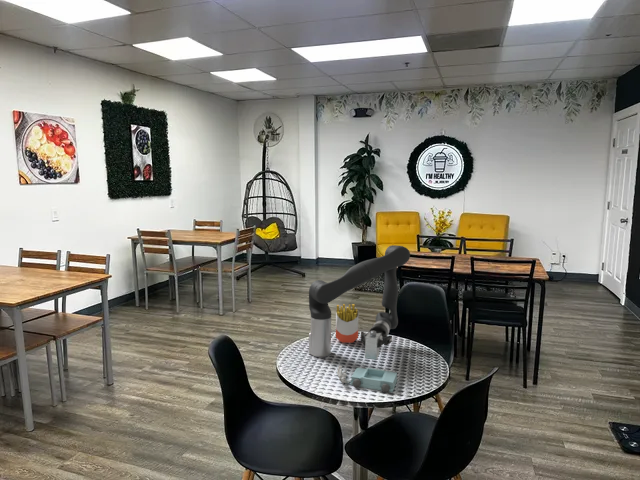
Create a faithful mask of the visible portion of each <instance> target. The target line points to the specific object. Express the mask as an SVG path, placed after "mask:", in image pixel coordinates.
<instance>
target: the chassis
mask: <svg viewBox="0 0 640 480" xmlns="http://www.w3.org/2000/svg"><path fill="white" fill-rule="evenodd" d="M350 378H351V379H350V380H351V382H350V386H353V387H354V388H356V389H359V388H365V389H370V390H376V391H382V392H383V393H385V394H386V393H393V392H394V389H395V387H396V384H397V382H398V372H394V371H392V370H390V371H389V370H388V371H387V370H383V369H378V368H372V367H365V366H362V367H356V369H355V370H354V372H353V373H352V375H351V377H350Z"/></svg>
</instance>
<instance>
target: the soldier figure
mask: <svg viewBox="0 0 640 480" xmlns="http://www.w3.org/2000/svg"><path fill="white" fill-rule="evenodd" d="M347 373H348V371H347V370H344V371H343V365H338V368H337V373H336V374H337V376H338V380H339V381H340V382H341V383H342V385H344V383H345V384H351V379H349V380H347V376H348V374H347Z"/></svg>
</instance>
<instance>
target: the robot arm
mask: <svg viewBox="0 0 640 480" xmlns="http://www.w3.org/2000/svg"><path fill="white" fill-rule="evenodd" d="M410 252H411V251H410V250H409V249H408V248H407V247H405V246H403V245H389V246H387V248H386V249H385V252H384V255H382V256H379V257H375V258H370V259H366V260H363V261H360V262H359V263H357V264H356V263H355V265H353V266H351V267H350V268H348V270H346V271H345V273H344V274H343V275H342V276H340V277H338V278H337V279H335V280H332V281H329V282H326V281H324V280H321V279H317V280H314V281H313V282H312V283H311V284H310V286H309V289H308V308H309V311H310V332H309V334H308V355H311V356H312V357H318V358H325V357H329V356H330V355H331V354H332V353H331V351H332V347H331V346H332V310H331V309H330V306H329V303H330V302H331V303H332V301H333V302H334V300H336V299H337V298H339V297H340V296H342V295H343V294H345V293H347V292H349V291H352V290H353V289H355V288H357V287H359V286H361V285H364V284H365V283H367V282H369V281H371V280H373V279H375V278H377V277H380V276H381V275H382V274H384V284H383V292H382V293H383V294H382V299H381V306H382V307H384V308H385V309H388V310H389V311H390V312H384V311H379V312H378V313H376V315H375V322H374V324H373V325H372V326H371V328H370V329H369V331H368V332H366V333H365V332H364V331H363V330H362V331H360V342H362V345H363V346H365V341H366V336H367V334H368V333H369V332H370V331H376V333H378V334H380V340H379V341H378V342H377V348H379V347H380V348H381V347H382V346H383V345H384V346H388V345H389V344H391V343H393V335H389V333H390V330H394V329H396V328H397V326H398V324H399V318H398V312H397V307H398V306H397V303H398V296H399V286H398V285H399V284H398V280H397V270H398V269H397V268H398V267H401V266H404V265H406V263H407V262H409V260H410V258H411V257H410V256H411V253H410Z"/></svg>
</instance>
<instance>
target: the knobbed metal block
mask: <svg viewBox="0 0 640 480" xmlns="http://www.w3.org/2000/svg"><path fill="white" fill-rule="evenodd" d="M369 331H370V330H369ZM369 331H368V332H369ZM368 332H367V333H368ZM379 340H380V334H378V333H376V331H370V332H369V333H368V334H367V336H366V341H365V347H364V359H368V360H374V361H377V359H378V358H379V355H380V348H381V347H379V348H377V342H378V341H379Z"/></svg>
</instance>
